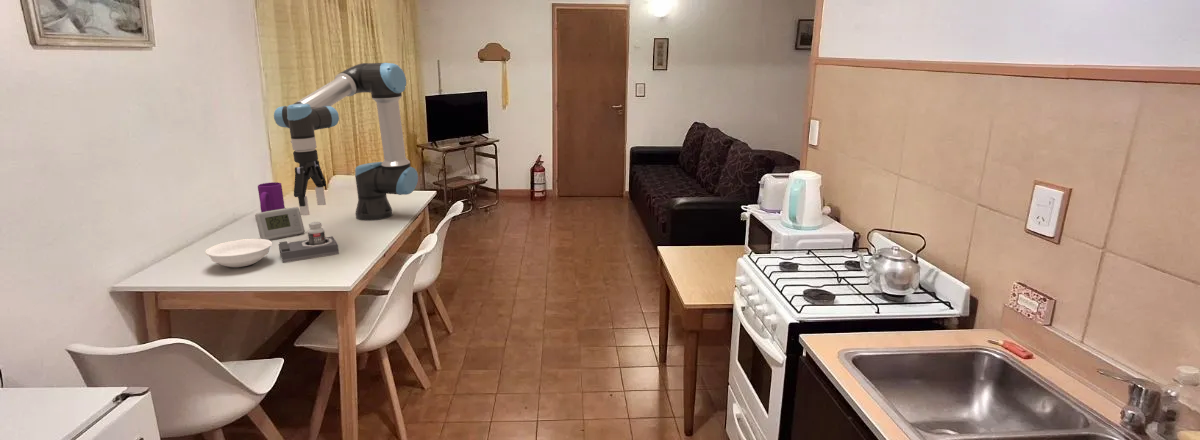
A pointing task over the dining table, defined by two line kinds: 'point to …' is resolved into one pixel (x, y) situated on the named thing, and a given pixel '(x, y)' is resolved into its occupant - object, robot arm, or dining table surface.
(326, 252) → the octagonal hole plate
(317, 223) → the pill bottle
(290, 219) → the digital clock
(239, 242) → the bowl
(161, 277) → the dining table surface
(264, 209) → the mug
